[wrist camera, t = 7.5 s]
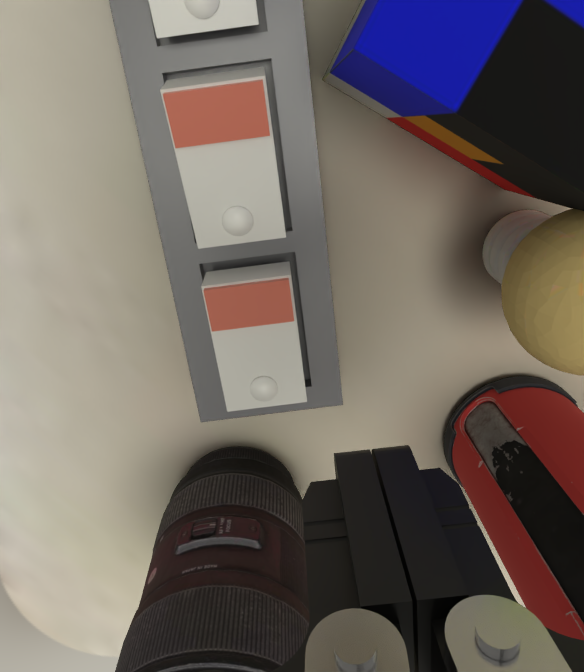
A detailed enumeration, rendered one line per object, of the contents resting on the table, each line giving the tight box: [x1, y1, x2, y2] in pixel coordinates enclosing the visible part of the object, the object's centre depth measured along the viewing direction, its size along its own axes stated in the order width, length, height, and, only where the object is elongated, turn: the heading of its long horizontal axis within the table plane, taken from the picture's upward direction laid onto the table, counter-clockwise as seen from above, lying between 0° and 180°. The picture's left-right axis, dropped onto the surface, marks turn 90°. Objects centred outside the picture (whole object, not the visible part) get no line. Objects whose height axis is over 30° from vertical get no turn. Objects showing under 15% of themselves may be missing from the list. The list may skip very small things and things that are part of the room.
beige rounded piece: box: [482, 209, 584, 375], centre depth 22 cm, size 6×6×10 cm
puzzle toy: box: [322, 0, 584, 211], centre depth 18 cm, size 10×10×10 cm
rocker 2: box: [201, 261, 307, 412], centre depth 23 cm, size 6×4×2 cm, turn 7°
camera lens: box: [115, 447, 309, 672], centre depth 25 cm, size 8×8×15 cm
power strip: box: [109, 0, 343, 422], centre depth 23 cm, size 26×7×3 cm, turn 7°
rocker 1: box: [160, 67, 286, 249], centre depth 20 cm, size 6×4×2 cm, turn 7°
